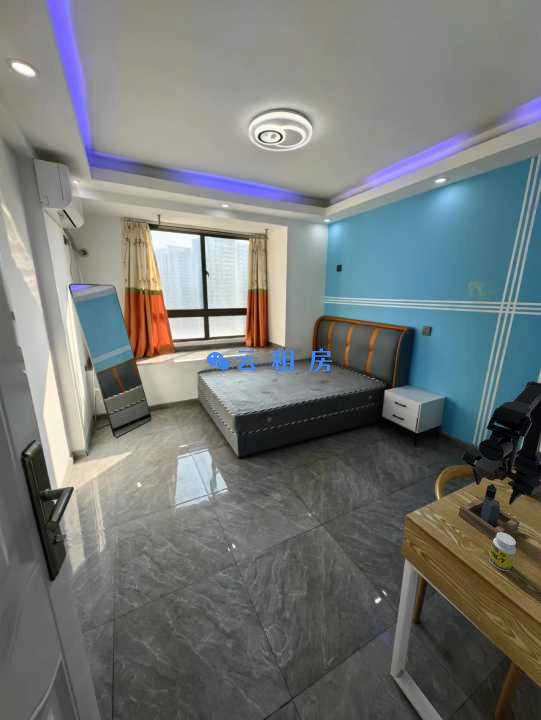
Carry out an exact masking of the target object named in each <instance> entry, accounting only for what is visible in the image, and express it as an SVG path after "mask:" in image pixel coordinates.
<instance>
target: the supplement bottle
mask: <svg viewBox="0 0 541 720" xmlns="http://www.w3.org/2000/svg"><path fill="white" fill-rule="evenodd" d="M516 544H517V542H516V539H515V538H513V536H511V534H509V535H508V534H506V533H503V532H499V533H497V535H496V538H494V539H493V540H492V543H491V548H490V550H489V553H488V554H489V555H488V560H489V562H490V563H491V565H493V566H494V567H495V568H497V569H498V570H500V571H503V572H509V571H510V570H512V566H513V563H514V559H515V555H516V553H517V552H516V550H517V549H516Z"/></svg>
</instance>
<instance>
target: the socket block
mask: <svg viewBox="0 0 541 720" xmlns="http://www.w3.org/2000/svg"><path fill="white" fill-rule="evenodd" d="M483 502H484V498H483V497H480V498H478V499H475V500H474V501H471V502H469V503H466V504H465V505H464V504H463V506H461V507H459V511H458V516H459V517H460V518H462V519H463V520H464V521H466V522H467V523H468V524H470V525H471V526H472V527H474V528H475V529H477V530H478V531H479V532H480V533H482V534H483V535H485V536H486V537H487V538H489V539H490V540H491V541H493V539H494V538H496V535H497V533H499V532H503V533H506V534H508V535H511V534H513V533H515V532H517V531H518V529H519V526H520V521H519V520H518V519H516V518H515V517H513V516H512V515H510V514H509V513H507V512H505V511H503V510H502V509H500V512H499V516H498V520H497V524H496V525H495V527H492V526H491V525H490V524H488V523H487V522H485V521H484V520H483V518H482V517H481V511H482V506H483Z"/></svg>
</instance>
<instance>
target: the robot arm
mask: <svg viewBox="0 0 541 720" xmlns="http://www.w3.org/2000/svg"><path fill="white" fill-rule="evenodd" d="M486 430H488V431H491V434H490V435H489V436H488V437H486V438H485V439H484V440H482V441H481V442H480V443H479V444H478V449H477V448H472V449H469V450H466V451H464V452H463V453H462V455H461V457H462V458H461V459H462V460H463V461H464V462H465V464H467V465H468V466H469V468H471V470H472V473H473V476H474V480H475V484H476V485H477V486H478V485H480V484H481V483H482V480H483V477H484V478H485V479H487V481H493V482H494V481H495V480H499V481H504V480H505V479H507V478H508V479H510V481H508V482H507V484H508V485H509V486H511V490H512V493H511V494H510V497H509V500H508V505H513V504H514V503H515V502H516V501H517V500H518V499H520V498H521V496H522V495H523V496H530V497H531V496H533V495H535V494H537V493H540V492H541V451H540V448H541V382H537V381H527V383H526V385H525V386H524V389H523V390H522V391H521V392H520V393H519V394H518V396H516V397H515V398H514V400H512V401H506V402H503V403H502V404H501V405H500V406H498V407H496V408H495V410H494V411H493V413H492V415H491V417H490V420H489V422H488V424H487V425H486ZM521 439H523V440H522V446H521V447H520V448H519V445H520V442H521ZM513 471H515V472H513Z"/></svg>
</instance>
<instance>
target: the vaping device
mask: <svg viewBox="0 0 541 720" xmlns="http://www.w3.org/2000/svg"><path fill="white" fill-rule="evenodd" d="M497 490H498V489H497V488H496V485H495V484H492V483H491V484H489V485H487V486H486V491H485V496H484V498H483V499H484V502H483V506H482V511H481V517H482V518H483V520H484V521H485V522H487V523H488V524H490V525H491V526H492V527H495V525H496V524H497V520H498V516H499V512H500V510H501V505H500V502H499V501H498V500H497V499H495V498H496V496H497V495H496V494H497Z"/></svg>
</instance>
